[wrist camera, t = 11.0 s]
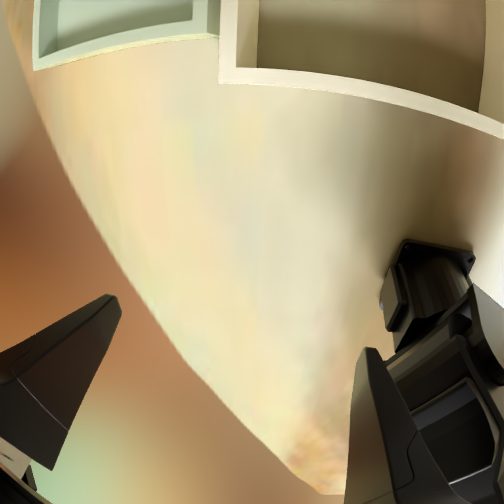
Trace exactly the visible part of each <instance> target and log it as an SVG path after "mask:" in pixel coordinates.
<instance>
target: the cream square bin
mask: <svg viewBox="0 0 504 504" xmlns="http://www.w3.org/2000/svg"><path fill="white" fill-rule="evenodd" d="M485 2H486V40H485V58H484V70H483V79H482V88H481V95H480V102H479V108H478V113H476V112H474V111H471V110H468V109H466V108H463V107H460V106H457V105H454V104H451V103H449V102H446V101H442V100H439V99H436V98H433V97H430V96H426V95H423V94H419V93H416V92H412V91H408V90H405V89H401V88H397V87H392V86H388V85H384V84H379V83H374V82H370V81H365V80H359V79H354V78H348V77H342V76H335V75H329V74H321V73H313V72H304V71H294V70H282V69H266V68H256V66H257V43H258V19H259V0H221V11H220V38H219V78H218V84H252V85H270V86H283V87H294V88H304V89H312V90H320V91H327V92H334V93H340V94H347V95H352V96H358V97H363V98H368V99H373V100H378V101H383V102H387V103H392V104H396V105H400V106H404V107H408V108H412V109H415V110H419V111H423V112H426V113H430V114H433V115H436V116H440V117H443V118H446V119H449V120H452V121H455V122H458V123H461V124H464V125H467V126H470V127H472V128H475V129H478V130H480V131H483V132H486V133H488V134H491V135H493V136H495V137H498V138H500V139H503V140H504V0H485Z"/></svg>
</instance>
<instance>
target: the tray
mask: <svg viewBox="0 0 504 504" xmlns="http://www.w3.org/2000/svg"><path fill="white" fill-rule="evenodd" d="M220 11H221V0H35V2H34V15H33V71H35V70H40V69H44V68H49V67H55V66H60V65H63V64H67V63H70V62H73V61H77V60H80V59H84V58H87V57H91V56H95V55H99V54H103V53H108V52H112V51H117V50H122V49H127V48H132V47H137V46H143V45H149V44H156V43H163V42H171V41H180V40H191V39H204V38H220Z"/></svg>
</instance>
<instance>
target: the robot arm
mask: <svg viewBox="0 0 504 504" xmlns="http://www.w3.org/2000/svg"><path fill="white" fill-rule="evenodd" d="M407 245H410V247H409V248H405V247H406V246H407ZM470 257H471V258H470ZM468 258H470V259H469V260H468ZM475 259H476V258H475V255H474V254H473V252H471V251H466V250H461V249H456V248H452V247H447V246H442V245H437V244H432V243H427V242H421V241H416V240H411V239H406V240H404V241H402V243H401V245H400V248H399V251H398V254H397V257H396V260H395V262H394V264H392V265H391V266H390V267H389V270H388V273H387V276H386V278H385V281H384V284H383V286H382V289H381V299H380V302H379V305H380V309H381V310H383V312H384V320H385V328H386V330H387V331H388V332H392V334H393V342H394V350H395V353H396V354H395V355H393V356H392V357H391V358H389V359H388V360H387V361H383V360H382V358H381V356H380V354H379V352H378V351H377V349H376V348H371V347H365V348H364V349H363V350H362V352H361V354H360V356H359V358H358V360H357V363H356V369H355V377H354V385H353V393H352V400H351V410H350V435H349V453H348V467H347V479H346V489H345V498H344V504H504V309H503V308H502V307H501V306H500V305H499V304H498V303H497V302H495V301H494V300H493V299H492V298H491V297H490V296H488V295H487V294H486V293H485V292H484V291H483V290H481V289H480V288H479V287H478V286H477V285H475V284H474V283H473V284H472V282H471V280H470V277H469V273H470V271H471V268H472V266H473V264H474V262H475ZM121 314H122V311H121V307H120V304H119V301H118V298H117V297H116V296H115V295H112V294H105V295H103V296H101V297H99V298H98V299H96V300H94V301H92V302H90V303H89V304H87V305H85V306H83V307H81V308H80V309H78V310H77V311H75V312H73V313H71V314H69V315H67V316H66V317H64V318H62V319H60V320H59V321H57V322H55V323H53V324H52V325H50V326H48V327H47V328H45V329H43V330H41V331H40V332H38V333H36V335H35V334H34V335H33V336H31V337H30V338H28V339H26V340H24V341H22V342H20V343H19V344H17V345H15V346H13V347H11V348H9V349H7V350H5V351H3V352H1V353H0V504H52V503H51V502H49V501H48V500H46V499H45V498H44V497H42V496H41V495H39V494H38V493H37V492H36V491H37V487H36V484H35V480H34V477H33V473H32V469H31V465H29V463H30V462H31V459H33V460H34V461H36V462H38V463H39V464H41V465H42V466H44V467H46V468H47V469H49V470H51V471H52V470H53V468H54V466H55V463H56V461H57V458H58V456H59V453H60V450H61V448H62V446H63V444H64V441H65V439H66V436H67V434H68V431H69V429H70V427H71V425H72V422H73V420H74V418H75V416H76V413H77V411H78V409H79V407H80V405H81V403H82V400H83V398H84V396H85V394H86V392H87V389H88V388H89V386H90V384H91V382H92V380H93V378H94V376H95V373H96V371H97V370H98V367H99V366H100V364H101V362H102V359H103V358H104V356H105V354H106V351H107V350H108V348H109V345H110V343H111V340H112V338H113V335H114V333H115V330H116V328H117V325H118V323H119V320H120V318H121Z"/></svg>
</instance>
